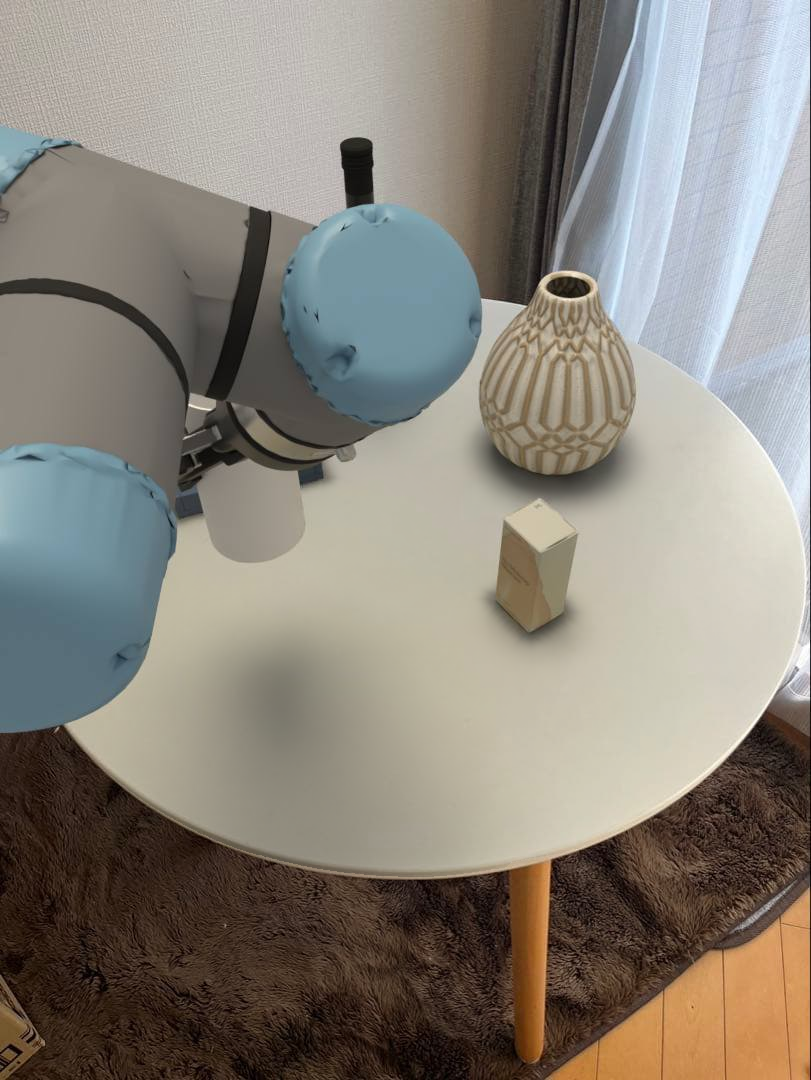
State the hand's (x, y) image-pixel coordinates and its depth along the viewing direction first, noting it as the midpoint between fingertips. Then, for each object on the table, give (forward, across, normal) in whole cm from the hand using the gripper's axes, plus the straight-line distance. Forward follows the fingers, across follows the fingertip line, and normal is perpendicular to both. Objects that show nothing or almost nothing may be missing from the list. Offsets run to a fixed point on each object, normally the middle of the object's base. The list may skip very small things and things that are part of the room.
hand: (229, 454), depth 67 cm
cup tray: (+31, +7, +2) cm, 32 cm away
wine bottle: (+31, +24, +2) cm, 39 cm away
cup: (+1, 0, -6) cm, 6 cm away
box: (+7, +22, -22) cm, 32 cm away
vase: (+19, +36, -11) cm, 42 cm away
